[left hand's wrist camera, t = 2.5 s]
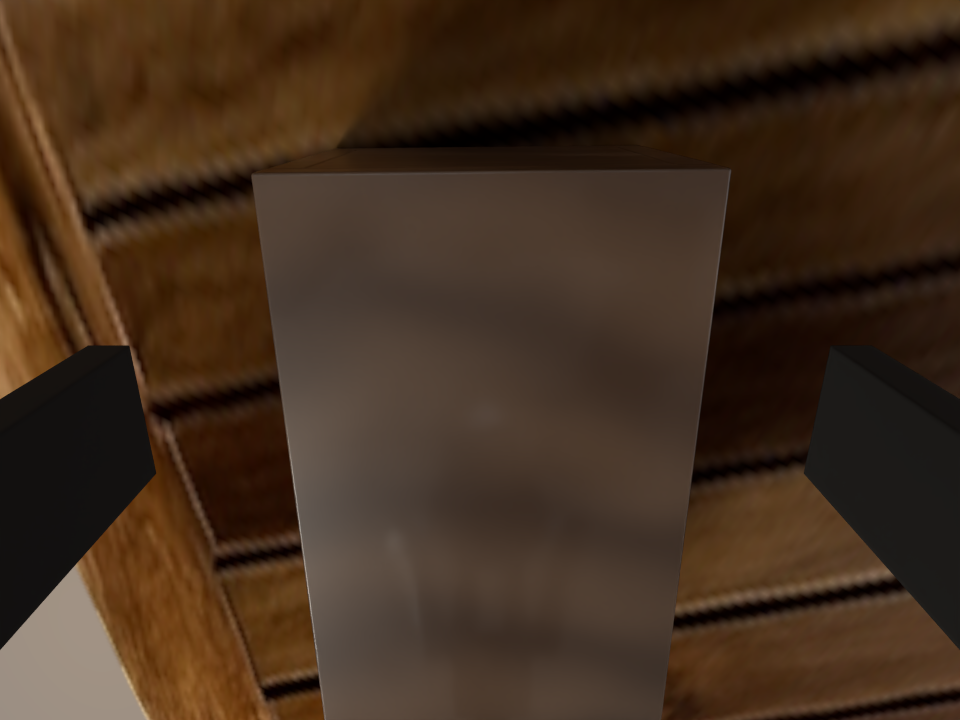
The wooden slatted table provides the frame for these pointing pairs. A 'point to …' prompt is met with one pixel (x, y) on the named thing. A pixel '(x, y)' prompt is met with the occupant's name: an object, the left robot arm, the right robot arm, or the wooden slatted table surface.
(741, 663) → the wooden slatted table surface
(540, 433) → the cabinet
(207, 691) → the wooden slatted table surface
